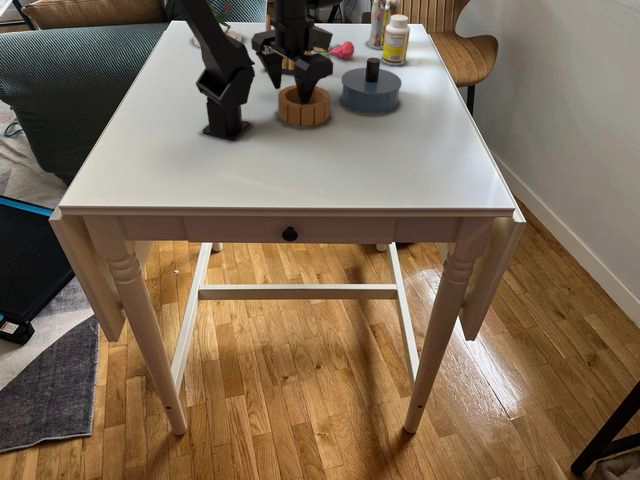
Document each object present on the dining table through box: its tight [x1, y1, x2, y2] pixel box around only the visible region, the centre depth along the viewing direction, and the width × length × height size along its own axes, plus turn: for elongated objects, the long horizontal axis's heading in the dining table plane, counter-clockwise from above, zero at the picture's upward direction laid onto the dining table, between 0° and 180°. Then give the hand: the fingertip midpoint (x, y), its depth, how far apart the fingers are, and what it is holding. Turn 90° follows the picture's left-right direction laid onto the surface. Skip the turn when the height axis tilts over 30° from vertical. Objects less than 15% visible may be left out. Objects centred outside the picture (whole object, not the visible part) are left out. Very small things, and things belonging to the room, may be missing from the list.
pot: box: [341, 84, 400, 114], centre depth 99 cm, size 11×11×4 cm
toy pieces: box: [312, 40, 355, 61], centre depth 117 cm, size 12×11×4 cm
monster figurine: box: [192, 1, 243, 48], centre depth 119 cm, size 12×12×10 cm
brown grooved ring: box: [277, 84, 331, 127], centre depth 94 cm, size 10×10×4 cm
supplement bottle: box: [381, 14, 411, 66], centre depth 113 cm, size 6×6×10 cm
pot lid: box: [341, 57, 403, 96], centre depth 96 cm, size 12×12×5 cm
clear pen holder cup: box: [367, 0, 401, 50], centre depth 119 cm, size 7×7×15 cm
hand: (290, 97), depth 96 cm, fingers open, 9 cm apart
